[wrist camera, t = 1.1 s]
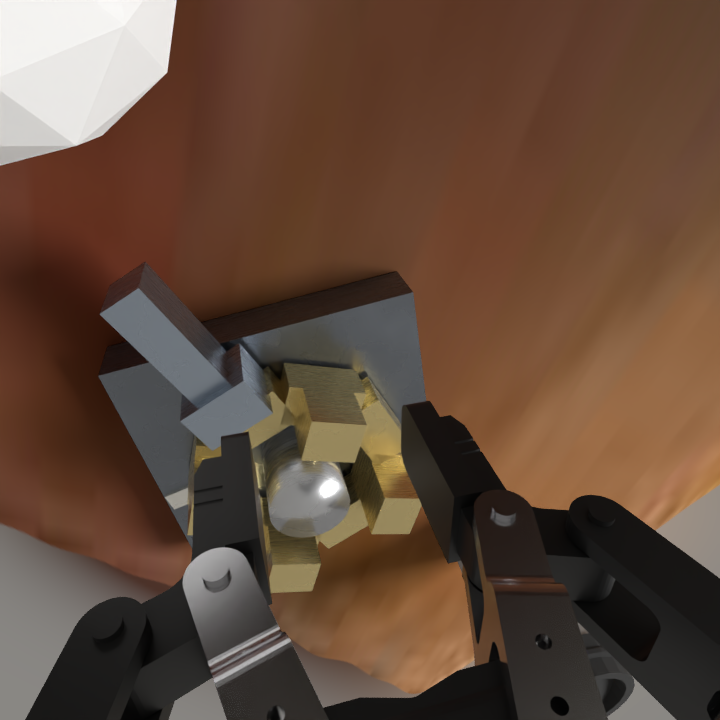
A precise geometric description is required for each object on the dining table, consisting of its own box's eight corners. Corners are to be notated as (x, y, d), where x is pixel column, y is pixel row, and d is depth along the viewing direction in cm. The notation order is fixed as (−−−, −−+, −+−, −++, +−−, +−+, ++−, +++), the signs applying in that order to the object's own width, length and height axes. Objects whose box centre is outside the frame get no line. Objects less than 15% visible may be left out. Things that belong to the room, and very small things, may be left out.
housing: (396, 271, 32) (447, 336, 25) (424, 471, 41) (465, 556, 35) (107, 346, 30) (79, 438, 23) (205, 538, 39) (205, 641, 33)
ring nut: (426, 457, 36) (456, 516, 31) (271, 550, 37) (280, 619, 33) (239, 197, 24) (246, 234, 20) (22, 342, 25) (-16, 407, 21)
